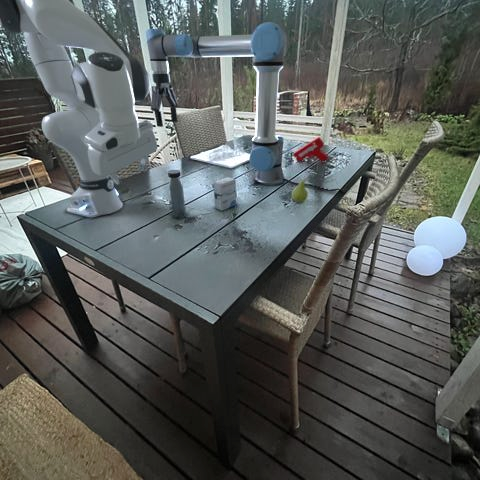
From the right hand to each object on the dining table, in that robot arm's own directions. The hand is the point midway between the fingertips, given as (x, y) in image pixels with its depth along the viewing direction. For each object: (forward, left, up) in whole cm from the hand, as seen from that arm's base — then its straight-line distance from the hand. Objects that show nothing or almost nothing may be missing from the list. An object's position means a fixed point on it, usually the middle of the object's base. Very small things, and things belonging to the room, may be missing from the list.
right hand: (167, 124), depth 132 cm
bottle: (-23, +37, -28) cm, 52 cm away
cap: (-23, +37, -10) cm, 45 cm away
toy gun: (-66, -53, -28) cm, 89 cm away
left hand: (-23, +60, -3) cm, 65 cm away
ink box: (-38, +24, -28) cm, 53 cm away
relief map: (-11, -44, -28) cm, 54 cm away
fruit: (-68, +10, -28) cm, 74 cm away
